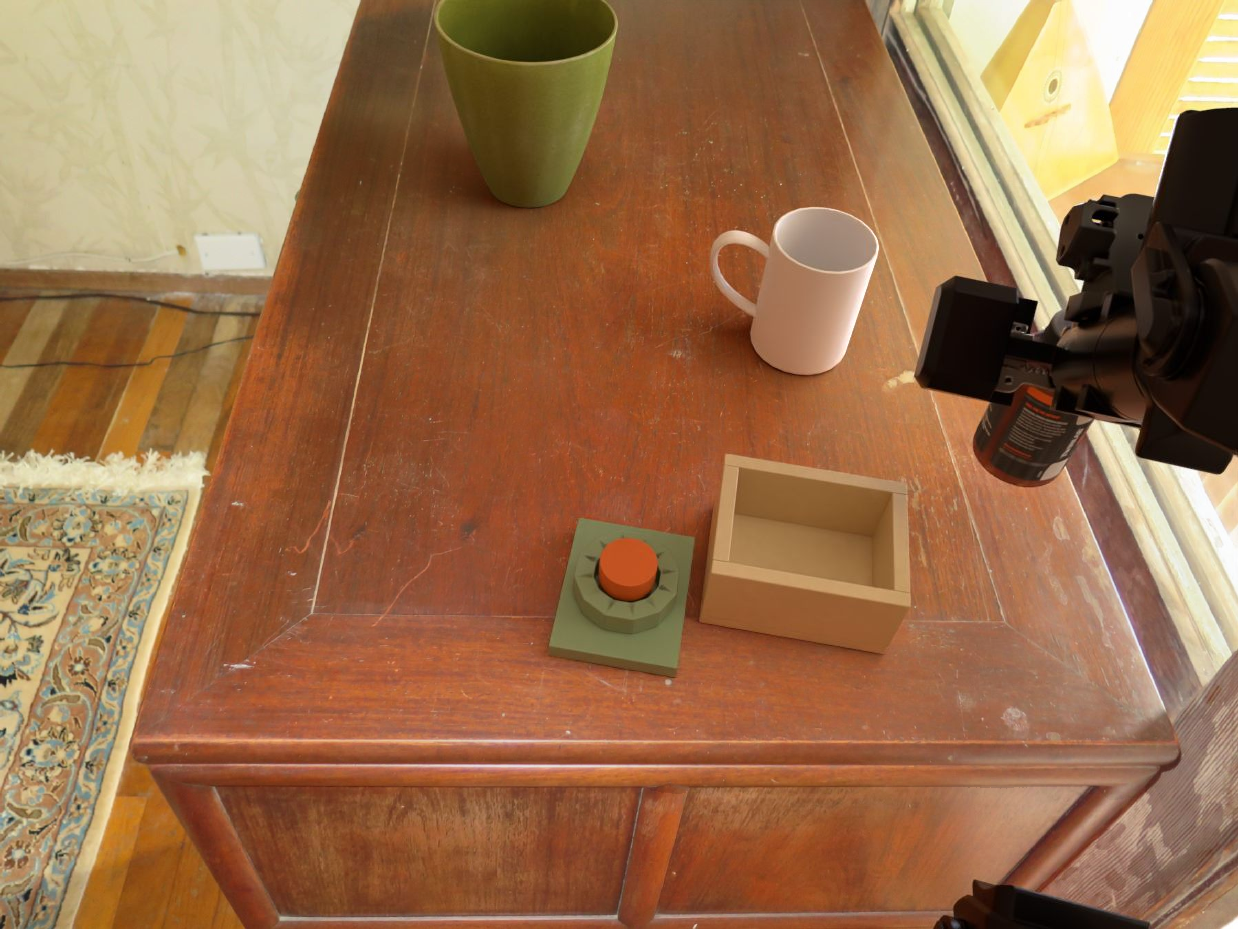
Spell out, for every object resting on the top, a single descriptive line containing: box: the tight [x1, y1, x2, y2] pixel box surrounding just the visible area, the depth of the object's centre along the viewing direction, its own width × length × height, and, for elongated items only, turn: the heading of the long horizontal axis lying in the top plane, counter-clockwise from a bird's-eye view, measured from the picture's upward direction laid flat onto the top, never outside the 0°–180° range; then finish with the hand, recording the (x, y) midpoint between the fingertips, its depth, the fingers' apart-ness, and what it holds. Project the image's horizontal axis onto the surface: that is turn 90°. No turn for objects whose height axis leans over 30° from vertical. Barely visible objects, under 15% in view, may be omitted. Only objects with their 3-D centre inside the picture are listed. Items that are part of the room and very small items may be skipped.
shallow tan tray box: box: [698, 453, 912, 655], centre depth 64 cm, size 10×12×6 cm
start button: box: [598, 538, 658, 601], centre depth 62 cm, size 4×4×2 cm
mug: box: [709, 206, 880, 376], centre depth 77 cm, size 12×8×10 cm, turn 82°
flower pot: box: [433, 0, 619, 209], centre depth 86 cm, size 15×15×16 cm
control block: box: [547, 517, 696, 678], centre depth 63 cm, size 10×8×3 cm
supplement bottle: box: [972, 308, 1096, 488], centre depth 61 cm, size 6×6×11 cm
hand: (1053, 372), depth 61 cm, fingers closed on supplement bottle, 6 cm apart
